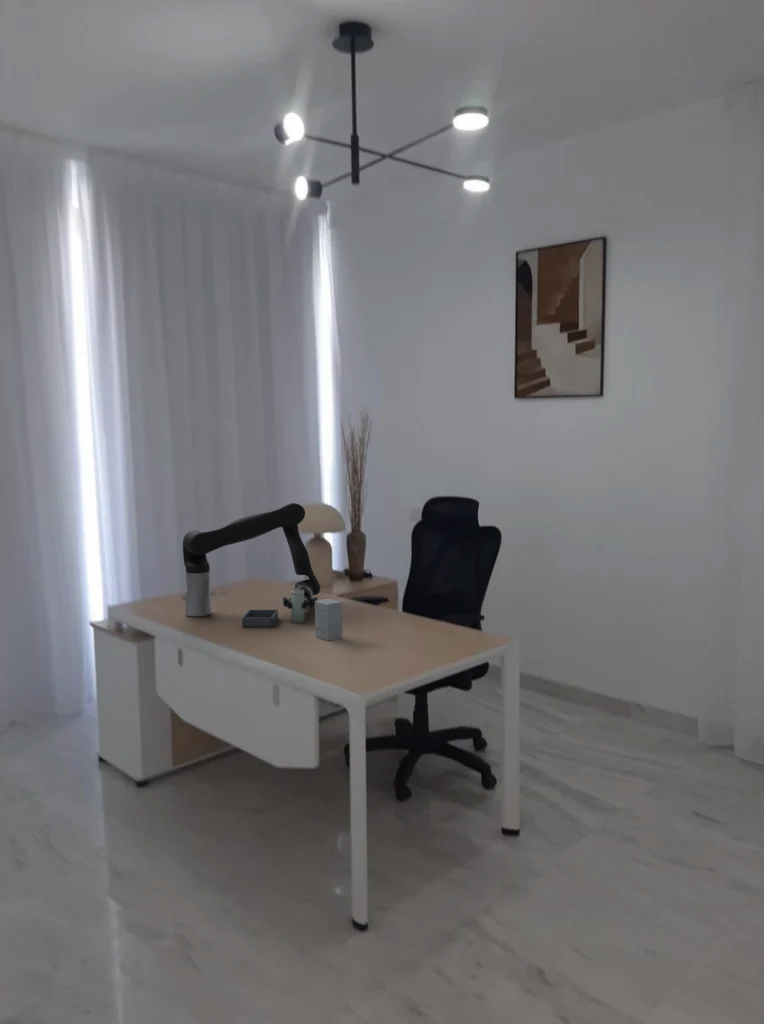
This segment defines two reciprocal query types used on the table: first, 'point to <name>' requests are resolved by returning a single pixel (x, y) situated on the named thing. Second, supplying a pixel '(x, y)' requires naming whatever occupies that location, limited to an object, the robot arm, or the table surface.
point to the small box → (328, 619)
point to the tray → (260, 618)
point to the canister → (297, 605)
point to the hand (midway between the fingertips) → (296, 606)
